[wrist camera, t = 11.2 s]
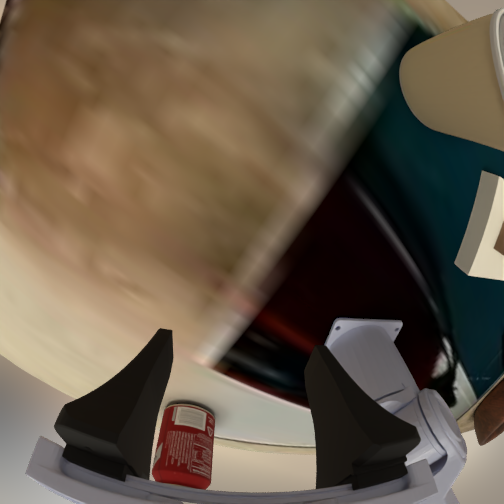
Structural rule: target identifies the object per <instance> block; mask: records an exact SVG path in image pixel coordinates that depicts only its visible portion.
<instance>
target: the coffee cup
mask: <svg viewBox="0 0 504 504" xmlns="http://www.w3.org/2000/svg"><path fill="white" fill-rule="evenodd" d="M399 79H400V86H401V90H402V93H403V96H404V98H405V100H406V103H407V104H408V106H409V108H410V110H411V111H412V112H413V114H414V115H415V116H416V117H417V118H418V120H419V121H421V122H422V123H423V124H424V125H425V126H427V127H429V128H431V129H433V130H435V131H439V132H442V133H446V134H449V135H453V136H457V137H461V138H464V139H468V140H471V141H474V142H478V143H481V144H484V145H487V146H490V147H493V148H496V149H499V150H502V151H504V8H501V9H498V10H496V11H495V12H494V13H493V14H489V15H486V16H483V17H480V18H478V19H475V20H472V21H470V22H467V23H464V24H462V25H459V26H457V27H455V28H452V29H450V30H448V31H445V32H443V33H441V34H439V35H437V36H435V37H433V38H430V39H428V40H426V41H424V42H422V43H420V44H418V45H417V46H415V47H413V48H411V49H410V50H409V51H408V52H407V53H406V54H405V55H404V57H403V59H402V61H401V64H400V69H399Z"/></svg>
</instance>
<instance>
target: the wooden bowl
mask: <svg viewBox="0 0 504 504" xmlns="http://www.w3.org/2000/svg"><path fill="white" fill-rule="evenodd" d="M474 427H475V432H476V435H477V439H478V442H479V445H484V444H486V443H488V442H489V441H491V440H493V439H494V438H496V437H497V436H498V435H499V434H501V433H502V432H503V431H504V379H503V380H502V381H501V382H500V383H499V384H498V385H497V386H496V387H495V388H494V389H493V391H492V392H491V393H490V394H489V395H488V396H487V397H486V398H485V399H484V400H483V402H482V403H481V404H480V405H479V407H478V408H477V410H476V412H475V416H474Z"/></svg>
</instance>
